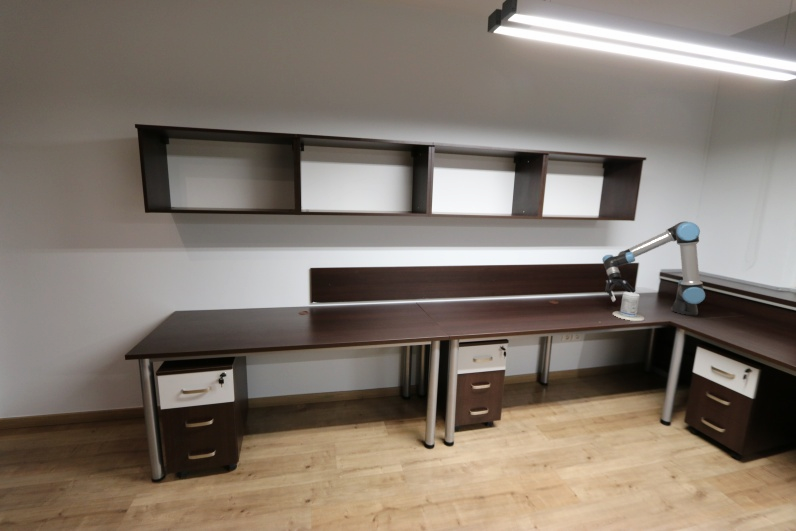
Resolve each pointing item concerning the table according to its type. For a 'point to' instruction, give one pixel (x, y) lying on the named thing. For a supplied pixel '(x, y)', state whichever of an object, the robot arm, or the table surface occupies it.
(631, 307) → the supplement tub
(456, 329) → the table surface
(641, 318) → the ceramic plate
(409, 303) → the table surface
